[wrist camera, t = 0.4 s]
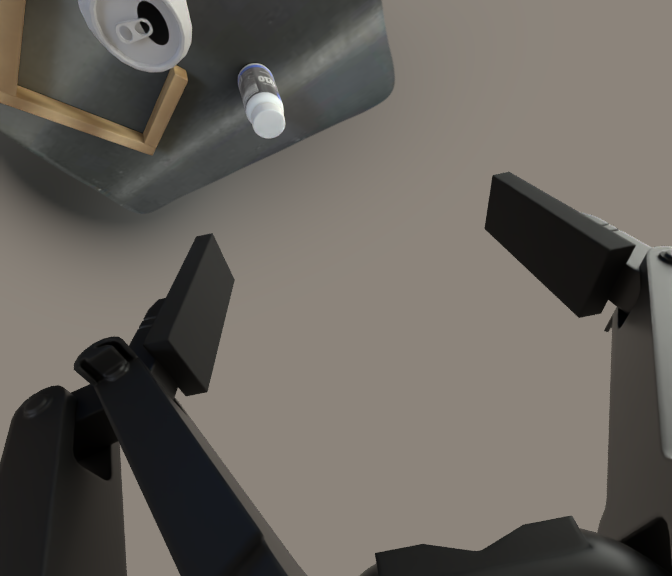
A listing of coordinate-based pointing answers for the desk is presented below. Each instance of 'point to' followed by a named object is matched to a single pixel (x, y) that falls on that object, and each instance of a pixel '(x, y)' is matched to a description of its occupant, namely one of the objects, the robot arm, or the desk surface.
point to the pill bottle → (261, 100)
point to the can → (141, 30)
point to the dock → (3, 68)
